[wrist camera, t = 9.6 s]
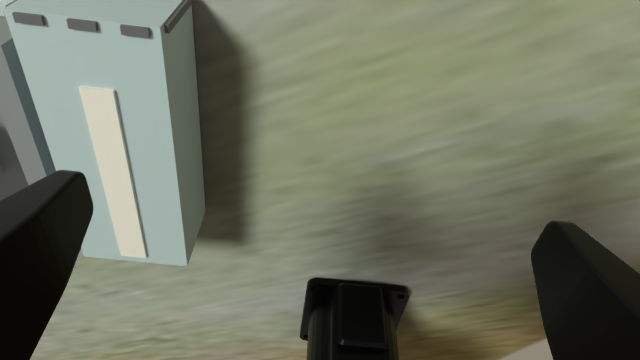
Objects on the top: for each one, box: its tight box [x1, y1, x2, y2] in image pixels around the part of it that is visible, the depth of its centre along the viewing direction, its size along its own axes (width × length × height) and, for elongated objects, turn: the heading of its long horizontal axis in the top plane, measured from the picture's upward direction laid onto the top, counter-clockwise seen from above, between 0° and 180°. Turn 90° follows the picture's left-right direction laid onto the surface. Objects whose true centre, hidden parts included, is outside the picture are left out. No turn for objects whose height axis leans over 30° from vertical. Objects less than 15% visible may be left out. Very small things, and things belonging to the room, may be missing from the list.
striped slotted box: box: [3, 0, 206, 266], centre depth 20 cm, size 12×5×4 cm, turn 174°
